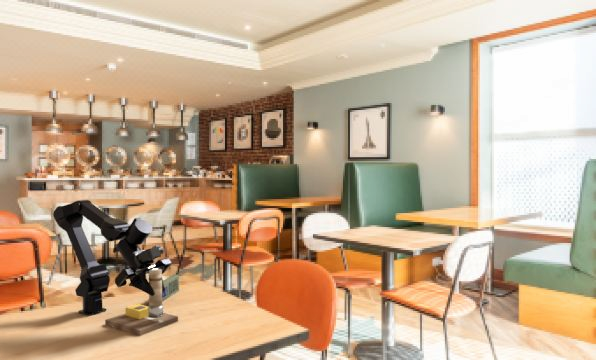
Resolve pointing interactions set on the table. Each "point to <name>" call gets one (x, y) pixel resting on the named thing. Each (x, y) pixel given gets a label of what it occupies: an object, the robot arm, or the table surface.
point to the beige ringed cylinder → (155, 301)
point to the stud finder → (137, 311)
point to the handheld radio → (170, 287)
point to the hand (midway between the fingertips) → (158, 293)
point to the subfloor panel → (140, 323)
